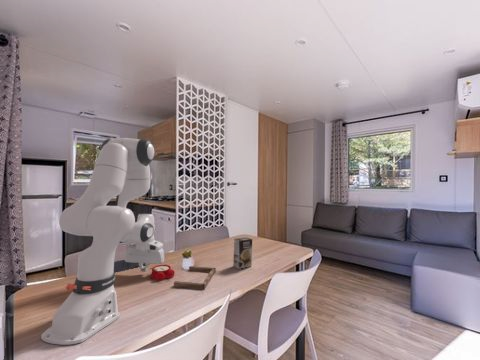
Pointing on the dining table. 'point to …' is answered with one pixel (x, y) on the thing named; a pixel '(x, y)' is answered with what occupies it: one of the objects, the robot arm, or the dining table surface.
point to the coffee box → (242, 252)
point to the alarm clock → (162, 272)
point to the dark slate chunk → (125, 265)
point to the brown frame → (197, 285)
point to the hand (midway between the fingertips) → (144, 271)
